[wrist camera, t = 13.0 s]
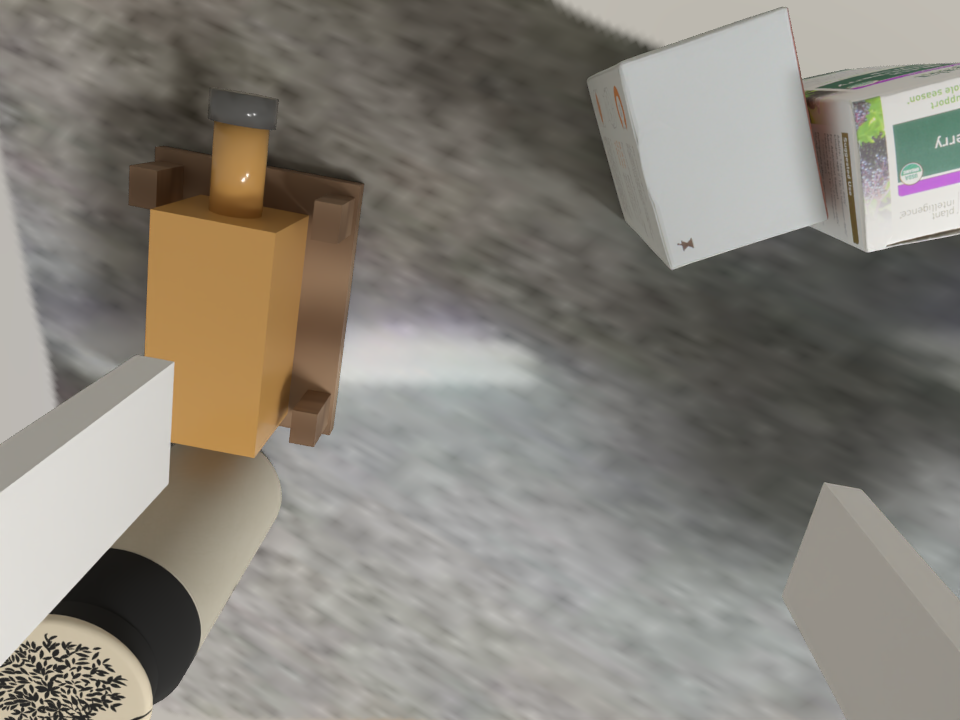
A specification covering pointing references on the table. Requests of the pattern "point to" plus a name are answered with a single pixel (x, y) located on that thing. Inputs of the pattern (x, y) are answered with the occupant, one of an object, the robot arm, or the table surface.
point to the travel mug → (147, 596)
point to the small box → (712, 140)
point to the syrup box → (888, 152)
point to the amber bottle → (227, 289)
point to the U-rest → (323, 268)
